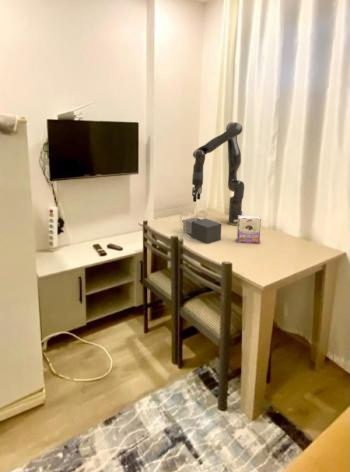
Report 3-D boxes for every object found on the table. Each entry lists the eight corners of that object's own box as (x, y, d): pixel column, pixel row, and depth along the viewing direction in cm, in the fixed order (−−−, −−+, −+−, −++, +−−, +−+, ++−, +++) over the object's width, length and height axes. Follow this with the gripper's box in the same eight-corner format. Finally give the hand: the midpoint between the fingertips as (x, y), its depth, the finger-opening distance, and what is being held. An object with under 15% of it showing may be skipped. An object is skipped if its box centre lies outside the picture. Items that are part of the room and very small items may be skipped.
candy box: (258, 240, 209) (259, 215, 206) (259, 243, 203) (261, 218, 200) (236, 239, 210) (237, 214, 207) (237, 242, 204) (238, 217, 201)
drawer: (178, 230, 223) (179, 217, 221) (191, 227, 230) (191, 215, 228) (196, 237, 209) (196, 224, 208) (208, 233, 216) (209, 221, 215)
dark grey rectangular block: (191, 237, 212) (191, 221, 210) (204, 233, 220) (205, 218, 218) (206, 243, 201) (207, 227, 199) (220, 239, 209) (221, 223, 207)
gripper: (199, 180, 220) (198, 203, 223) (205, 177, 233) (204, 199, 236) (189, 178, 222) (188, 201, 225) (196, 176, 235) (194, 198, 238)
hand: (196, 200), depth 230 cm, fingers open, 8 cm apart
